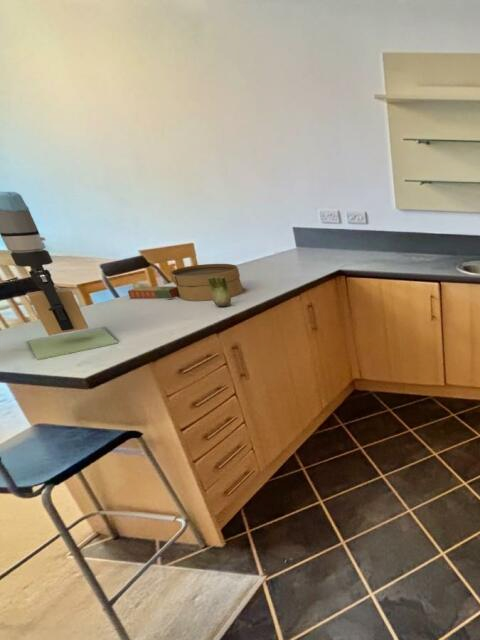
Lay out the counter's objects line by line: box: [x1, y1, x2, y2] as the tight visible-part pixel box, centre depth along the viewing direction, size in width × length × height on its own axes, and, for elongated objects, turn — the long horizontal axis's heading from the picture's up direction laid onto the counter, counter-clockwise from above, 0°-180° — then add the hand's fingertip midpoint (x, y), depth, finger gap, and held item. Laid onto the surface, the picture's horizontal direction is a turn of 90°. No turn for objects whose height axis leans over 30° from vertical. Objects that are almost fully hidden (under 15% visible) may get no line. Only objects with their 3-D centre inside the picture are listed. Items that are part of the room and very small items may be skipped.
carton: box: [127, 286, 180, 301], centre depth 180 cm, size 8×16×4 cm, turn 98°
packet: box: [26, 287, 89, 336], centre depth 127 cm, size 6×9×12 cm, turn 141°
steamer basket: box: [170, 263, 244, 302], centre depth 186 cm, size 25×25×11 cm
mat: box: [28, 328, 119, 361], centre depth 132 cm, size 20×18×1 cm
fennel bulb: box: [208, 277, 232, 307], centre depth 169 cm, size 6×5×12 cm
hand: (66, 327), depth 129 cm, fingers closed on packet, 6 cm apart
